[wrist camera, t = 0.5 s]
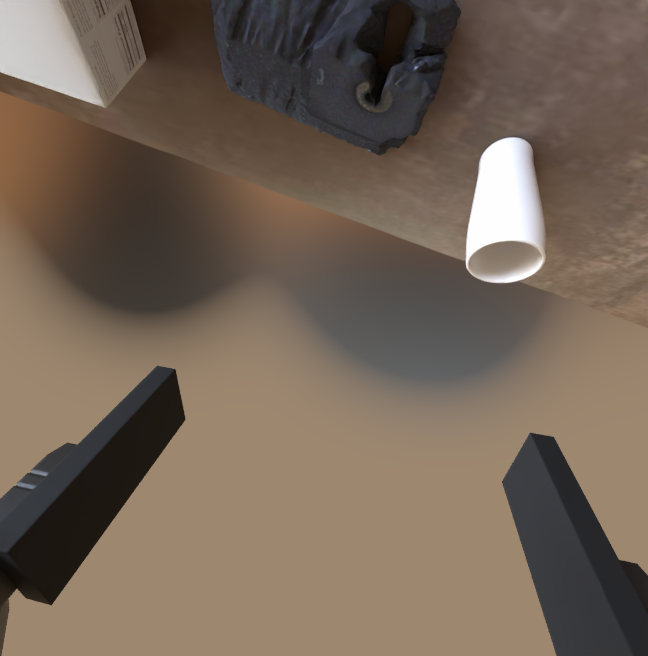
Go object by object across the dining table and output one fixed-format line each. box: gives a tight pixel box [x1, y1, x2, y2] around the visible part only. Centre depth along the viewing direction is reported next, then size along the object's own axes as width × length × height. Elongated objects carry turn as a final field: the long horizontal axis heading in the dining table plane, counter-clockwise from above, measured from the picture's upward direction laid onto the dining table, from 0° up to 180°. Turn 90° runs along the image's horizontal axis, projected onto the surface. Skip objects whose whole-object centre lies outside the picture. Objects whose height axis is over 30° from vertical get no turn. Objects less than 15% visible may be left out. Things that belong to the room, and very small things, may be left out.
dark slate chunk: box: [211, 0, 461, 155], centre depth 32 cm, size 15×22×5 cm
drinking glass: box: [466, 137, 546, 283], centre depth 34 cm, size 7×7×15 cm
